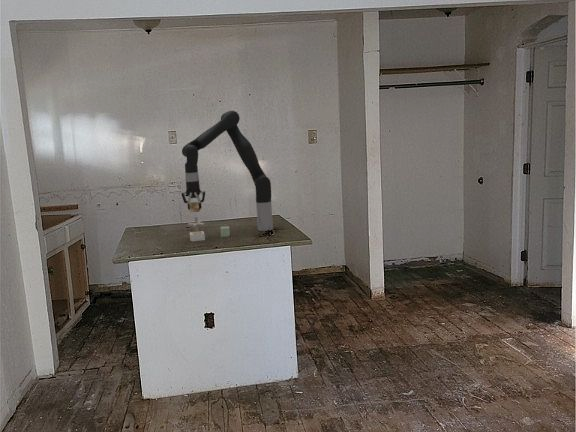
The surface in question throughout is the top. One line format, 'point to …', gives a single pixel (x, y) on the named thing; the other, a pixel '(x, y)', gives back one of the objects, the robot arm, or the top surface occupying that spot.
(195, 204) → the oak block
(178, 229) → the top surface
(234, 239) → the top surface
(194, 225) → the pipe connector
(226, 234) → the sage block
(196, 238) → the white base
